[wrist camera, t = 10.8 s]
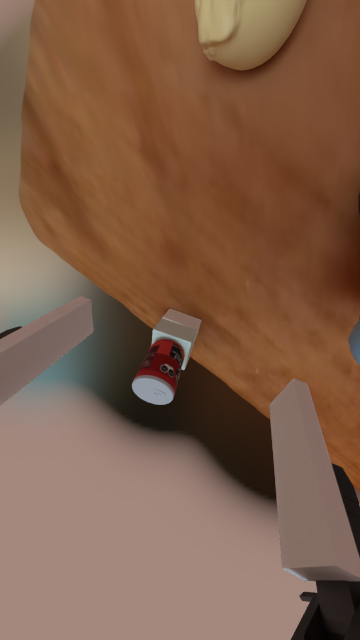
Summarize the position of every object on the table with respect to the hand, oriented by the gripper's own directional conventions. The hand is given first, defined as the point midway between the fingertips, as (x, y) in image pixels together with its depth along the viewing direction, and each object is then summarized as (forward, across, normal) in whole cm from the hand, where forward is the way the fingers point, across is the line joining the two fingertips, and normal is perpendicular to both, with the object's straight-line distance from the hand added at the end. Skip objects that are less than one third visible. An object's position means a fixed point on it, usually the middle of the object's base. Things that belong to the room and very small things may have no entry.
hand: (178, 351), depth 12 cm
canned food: (+22, -5, -22) cm, 32 cm away
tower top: (+27, -5, -22) cm, 35 cm away
